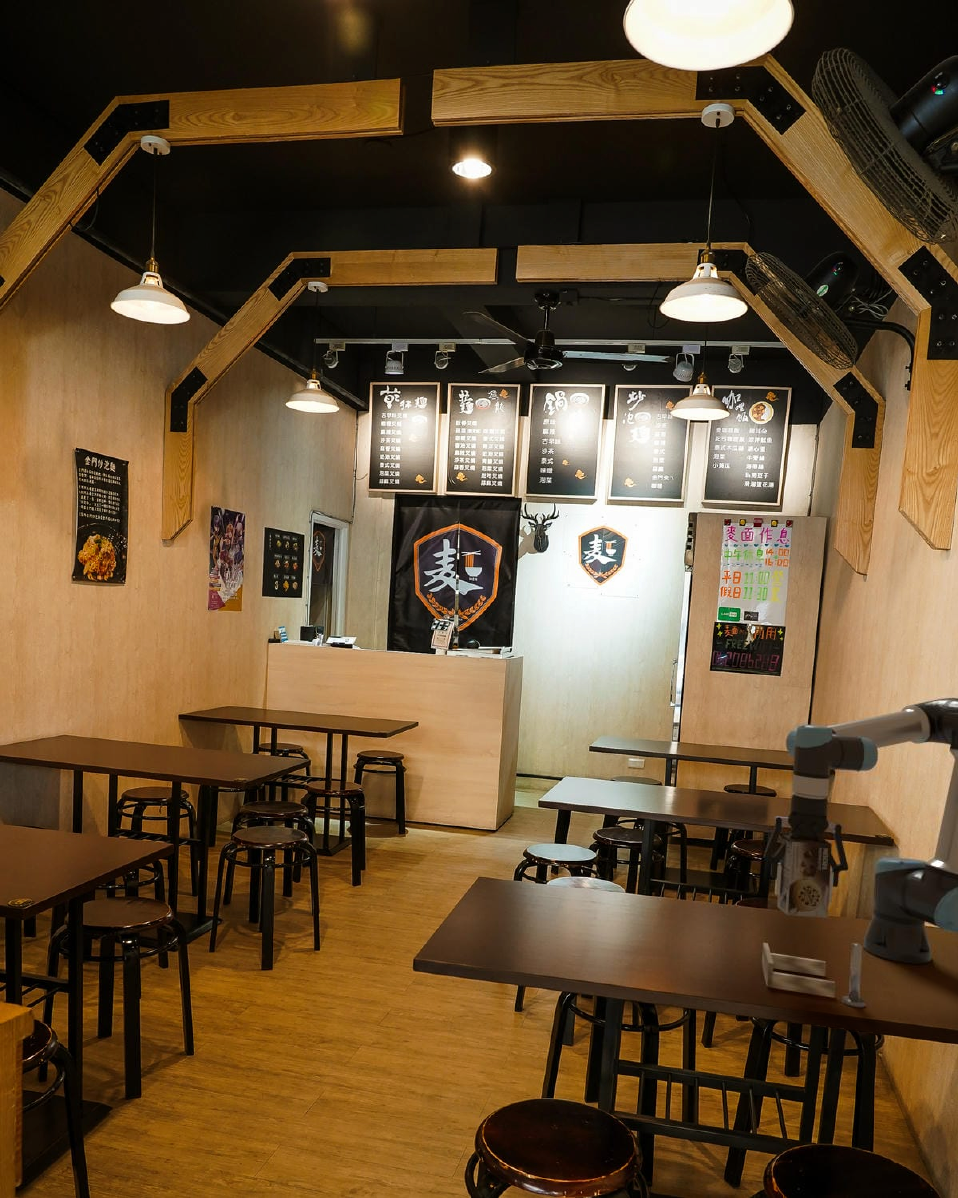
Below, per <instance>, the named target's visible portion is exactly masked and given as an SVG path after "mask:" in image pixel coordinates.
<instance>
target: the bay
mask: <svg viewBox="0 0 958 1198" xmlns="http://www.w3.org/2000/svg"><path fill="white" fill-rule="evenodd" d="M761 954H762V955H761V968H762V972H763V976H764V980H765V984H766V987H767V988H771V989H777V990H783V991H791V992H795V993H796V992H797V993H803V994H808V995H814V996H821V997H827V998H828V997H829V998H832V999H833V998H836V997H835V994H836V993H835V992H836V981H832V980H827V979H822V978H821V979H820V978H814V977H808V976H801V975H795V974H789V973H783V972H777V971H774V969H775V970H782V971H789V972H795V973H796V972H797V973H802V974H808V975H814V976H822V977H826V968H827V967H826V966H827V965H826V964H827V963H826V961H825V960H821V959H820V960H819V959H814V958H812V959H811V958H807V957H799V956H793V955H787V954H782V953H781V954H780V953H775V952H773V953H772V952H771V950H770V947H769V943H768V942H762V953H761Z"/></svg>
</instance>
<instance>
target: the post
mask: <svg viewBox="0 0 958 1198" xmlns="http://www.w3.org/2000/svg"><path fill="white" fill-rule="evenodd" d="M863 945H864V944H861V943H858V942H852V943H851V955H850V971H849V987H848V988H849V989H848V995H844V996H842V998H841V999H842V1000H841V1001H842V1003H843V1004H844V1005H845V1006H849V1007H852V1008H858V1009H862V1008H865V1007H866V1002H865V1000H863V999H861V998H860V990H861V978H862V977H861V975H862V974H861V973H862V959H863V947H864V946H863Z"/></svg>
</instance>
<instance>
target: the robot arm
mask: <svg viewBox="0 0 958 1198" xmlns="http://www.w3.org/2000/svg"><path fill="white" fill-rule="evenodd" d="M908 742H909V743H910V742H911V743H913V744H925V743H935V744H945V745H949V752H950V754H951V756H953V758H954V763H953V767H952V772H951V777H950V782H949V785H948V791H947V795H946V801H945V806H944V809H943V815H942V817H941V819H942V820H941V823H940V830H939V833H938V839H937V843H936V847H935V852H934V856H933V858H931V859H930V860H928V861H925V860H921V859H914V858H913V859H912V858H903V857H882V858H880V859H879V858H878V860H877V862H876V865H875V872H874V888H873V889H874V891H873V909H872V910H873V913H872V918H871V920H870V923H869V926H868V928H867V930H866V932H865V934H864V937H863V944H862V945H863V946H862V947H863V949H865V950H866V951H867V952H868V953H870V954H871V955H875V956H877V957H879V958H883V959H885V960H890V961H893V962H899V963H906V964H912V965H913V964H915V965H918V964H919V965H920V964H921V965H922V964H927V963H930V962H931V960H932V948H931V945H930V941H929V937H928V934H927V929H926V925H925V924H926V923H928V924H930V925H933V926H935V927H938V928H939V929H940V930H942V931H946V932H951V933H954V934H958V697H948V698H947V697H945V698H938V699H933V700H928V701H923V702H920V703H915V704H909V705H907V706H905V707H903V708H902V709H901V710H900V711H897V712H892V713H887V714H886V713H885V714H880V715H877V716H871V717H868V718H861V719H857V720H852V721H846V722H842V723H838V724H832V725H827V726H823V725H814V724H800V725H798V726H797V728H794V729H792V730H790V732H789V733H787V736H786V739H785V747H786V750H787V752H788V754H789V755H790V756H792V757H793V772H792V773H793V774H792V787H791V791H792V792H793V793H792V795H791V798H790V800H791V801H790V812H789V815H788V816H786V817H785V816H780V815H776V816H775V817H774V826H773V829H772V832H771V835H770V837H769V840H768V842H767V845H766V848H765V850H764V853H763V858H764V859H765V860H766V861H769V862H770V863H771V869H770V876H771V879H774V880H775V885H774V894H775V896H777V897H778V896H780V883H781V868H782V865H781V863H780V860H781V859H782V857H783V856H784V855H785V853H786V843H784V844H782V845H780V846H779V848H778V849H777V850H776V852H775V853H774V855H773V852H774V850H775V847H776V844H777V843H778V839H779V836H780V834H781V831H782V828H784V827H785V826H786V824H787V823H788V825H789V826H790V828H791V831H790V832H789V833H788V834H787V835H788V836H789V838H792V839H797V838H798V837H800V838H809V839H812V840H815V839H818V841H819V842H822V843H826V842H825V840H826V839H825V838H824V835H823V833H825V831H826V830H827V829H829V831H830V832H831V833H832V834H833V838H834V839H833V840H834V843H835V848H836V851H837V855H838V857H837V858H838V861H839V864H838V863H837V862H836V860H835V858H834V855H833V854H832V853H831V866H830V868H831V869H830V885H829V903H828V904H832V903H833V890H834V889H833V888H837V887H838V886H839V877H840V876H839V875H840V873H841V872H846V871H848V870H849V864H848V860H847V856H846V852H845V848H844V843H843V840H842V828H843V827H842V825H841V824H840V823H839V822H835V823H834V822H829V821H828V803H829V800H828V799H827V798H826V797H828V796H829V787H830V786H829V784H830V775H831V774H830V773H831V770H840V771H852V772H853V771H854V772H855V771H856V772H863V771H864V772H865V771H866V772H867V771H870V770H872V769H873V768H874V767H875V766H876V765H877V762H878V759H879V749H880V748H884V747H889V746H894V745H899V744H904V743H908ZM824 839H825V840H824Z"/></svg>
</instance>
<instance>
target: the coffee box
mask: <svg viewBox="0 0 958 1198" xmlns="http://www.w3.org/2000/svg"><path fill="white" fill-rule="evenodd" d="M788 835H789V834H782V835H781V845H782V844H784V843H786V853H785V855H784V856H783V857H782V859H781V860H780V861H779V863H781V865H782V868H781V883H780V896H778V895H777V908H778V909H779V910H781V911H782V912H783V913H784V914H786V916H795V917H811V918H813V917H814V918H827V919H828V918H829V904H830V903H829V885H830V870H831V854H832V849H833V848H832V847H833V846H832V845H833V844H832V843H831V842H828V840H826V839H825V838H824V840H825V842H826V843H822V842H819V841H818V839H815V840H812V839H809V838H800V837H798V838H797V839H792V838H789V836H788ZM781 845H780V846H781Z"/></svg>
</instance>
